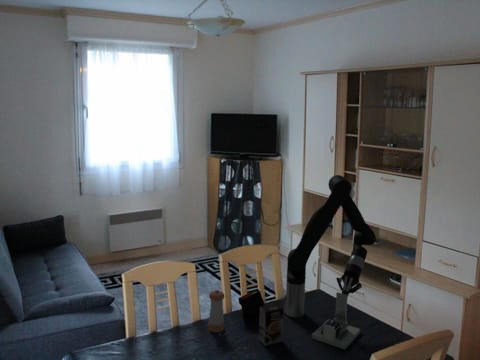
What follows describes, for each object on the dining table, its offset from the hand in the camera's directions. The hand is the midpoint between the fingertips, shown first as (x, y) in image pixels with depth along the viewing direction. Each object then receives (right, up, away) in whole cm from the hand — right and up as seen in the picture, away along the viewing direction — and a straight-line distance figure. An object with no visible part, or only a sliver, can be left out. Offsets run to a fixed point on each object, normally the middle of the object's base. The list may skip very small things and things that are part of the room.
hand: (343, 299), depth 221 cm
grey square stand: (-4, -16, -2) cm, 17 cm away
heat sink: (-5, -15, -4) cm, 16 cm away
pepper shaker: (-59, -15, +2) cm, 61 cm away
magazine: (-42, -13, +12) cm, 46 cm away
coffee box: (-34, -17, -7) cm, 39 cm away
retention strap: (-1, -9, 0) cm, 9 cm away
